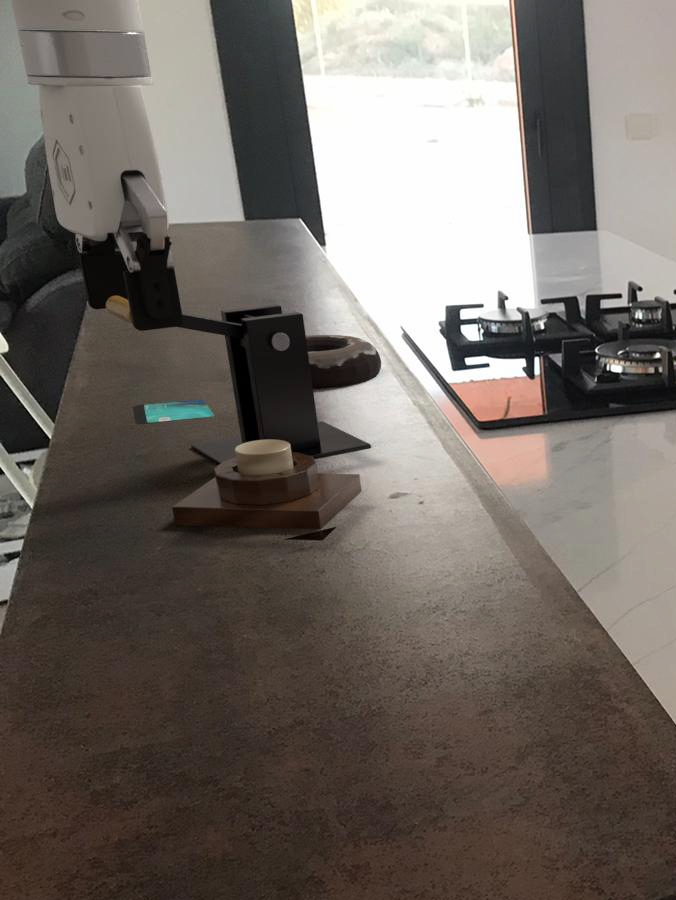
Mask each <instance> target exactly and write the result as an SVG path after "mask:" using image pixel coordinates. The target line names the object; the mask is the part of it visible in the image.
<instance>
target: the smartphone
mask: <svg viewBox="0 0 676 900" xmlns="http://www.w3.org/2000/svg"><path fill="white" fill-rule="evenodd" d="M132 411H133V416H134V423H135V424H136V425H147V424H148V425H149V424H159V423H167V422H168V423H169V422H176V421H187V420H197V419H204V418H213V417H215V414H214V413H213V412H212V410H211V409H210V407H209V405H208V404H207V403H206V401H205V400H204V398H203V399H190V400H179V401H177V400H176V401H167V402H157V403H146V404H137V405H134V406H132Z"/></svg>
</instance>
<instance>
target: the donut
mask: <svg viewBox="0 0 676 900" xmlns="http://www.w3.org/2000/svg"><path fill="white" fill-rule="evenodd" d="M306 342H307V349H308V356H309V364H310V371H311V378H312V385H313V390H322V389H333V388H343V387H347V386H353V385H357V384H362V383H364V382H368V381H370V380H372V379H374V378H376V377H377V376H378V375H379V374H380V371H381V369H382V360H381V355H380V353H379V351H378V349H376V347H375V346H374V345H373V344H371V342H369V341H367V340H364V339H362V338H360V337H355V336H351V335H341V334H313V335H306Z"/></svg>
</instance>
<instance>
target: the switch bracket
mask: <svg viewBox="0 0 676 900" xmlns="http://www.w3.org/2000/svg"><path fill="white" fill-rule="evenodd" d="M220 315H221V320H223V321H228V322H234V323H239V324H242V329H243V335H244V342H245V347H243V346H241V345H239V344H240V338H237V337H231V336H225V335H224V340H225V346H226V353H227V360H228V364H229V370H230V372H229V373H230V377H231V383H232V390H233V395H234V402H235V408H236V414H237V421H238V426H239V427H238V428H239V432H240V433H239V434H240V435H238V436H231V437H227V438H221V439H215V440H209V441H204V442H199V443H193V444H191V445H190V448H191V450H193V451H195V452H196V453H198V454H200V455H202V456H203V457H205V458H206V459H209V460H210V461H212V462H213V463H215V464H216V465H217V466H218V465H220V464H221V463H222V462H224V461H226V460H229V459H233V458H236V455H235V448H236V447H237V446H239V445H241V444H243V443H246V442H251V441H256V440H268V439H273V440H282V441H286V442H288V443H289V444H290V445H291V452H295V453H300V454H304V455H308V456H312V457H313V458H314V460H318V459H323V458H328V457H332V456H338V455H342V454H348V453H353V452H358V451H363V450H367V449H368V450H369V449H371V448H372V446H371V445H372V444H371V443H369V442H366V441H364V440H363V439H360V438H358V437H356V436H354V435H352V434H351V433H348V432H346V431H344V430H342V429H340V428H338V427H336V426H334V425H332V424H329V423H328V422H325V421H323V420H321V421H320V420H319V421H318V416H317V415H318V414H317V409H316V408H317V407H316V400H315V393H314V389H313V385H312V378H311V371H310V364H309V356H308V349H307V342H306V336H307V335H306V328H305V320H304V314H303V313H301V312H299V311H294V312H285V313H283V311H282V305H279V304H276V303H274V304H265V305H257V306H249V307H240V308H232V309H224V310H223V309H221V310H220ZM244 315H249V316H254V317H251V318H244Z"/></svg>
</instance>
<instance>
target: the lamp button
mask: <svg viewBox="0 0 676 900" xmlns="http://www.w3.org/2000/svg"><path fill="white" fill-rule="evenodd" d="M235 455H236V461H237V467H238V473H241V474H244V475H264V474H272V473H280V472H283V471H286V470H290V469H292V468H293V467H294V466H293V459H292V452H291V445H290V444H289V443H288V442H286V441H282V440H273V439H268V440H256V441H251V442H246V443H243V444H241V445H239V446H237V447H236V448H235Z"/></svg>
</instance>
